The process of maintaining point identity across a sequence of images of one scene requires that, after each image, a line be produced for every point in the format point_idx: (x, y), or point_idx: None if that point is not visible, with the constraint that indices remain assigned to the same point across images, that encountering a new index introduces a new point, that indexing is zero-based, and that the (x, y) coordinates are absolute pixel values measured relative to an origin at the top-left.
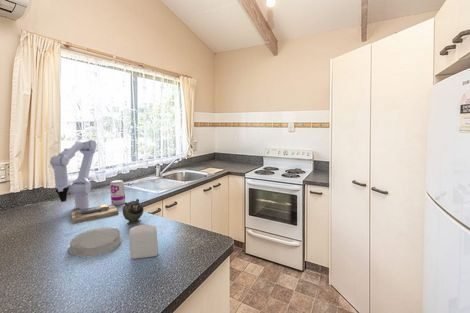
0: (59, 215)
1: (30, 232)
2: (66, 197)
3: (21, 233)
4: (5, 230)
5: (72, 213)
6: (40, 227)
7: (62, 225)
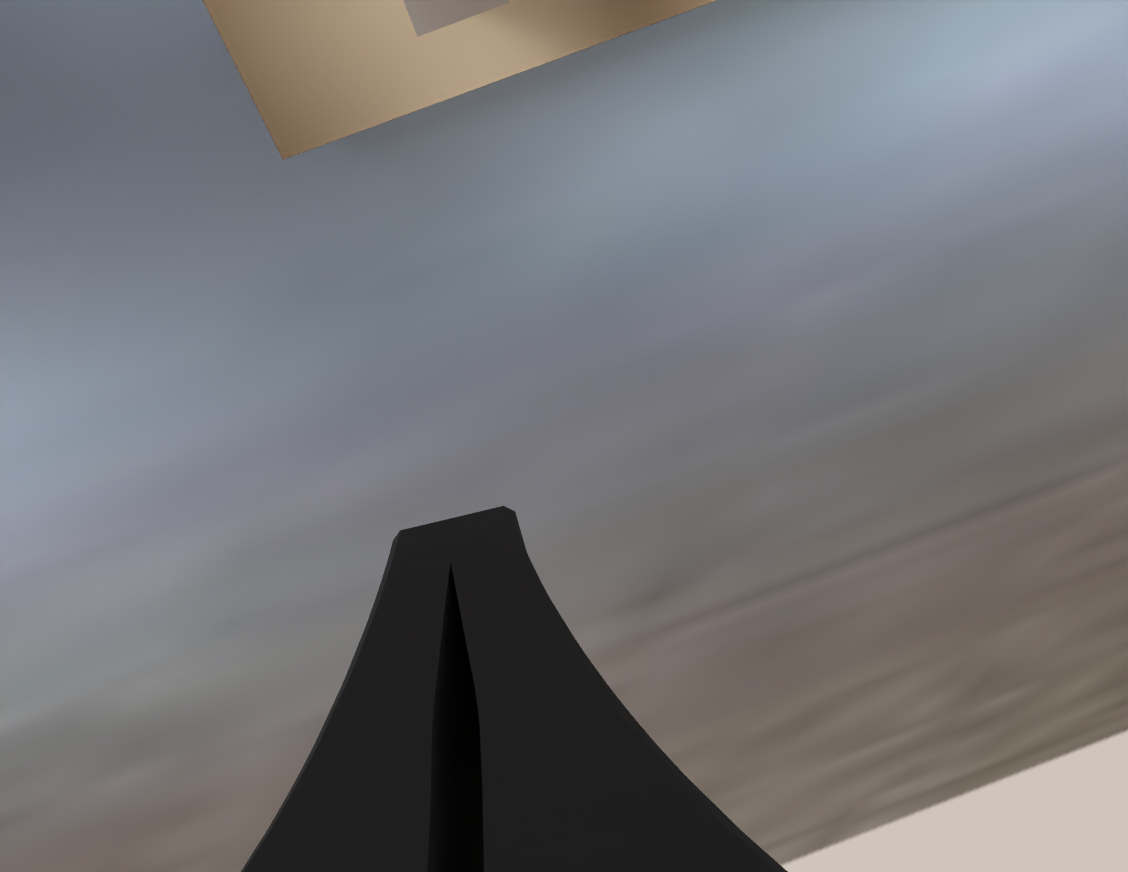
0: (211, 441)
1: (1111, 531)
2: (409, 618)
3: (1067, 630)
4: (788, 856)
5: (454, 65)
6: (930, 488)
7: (1079, 80)
